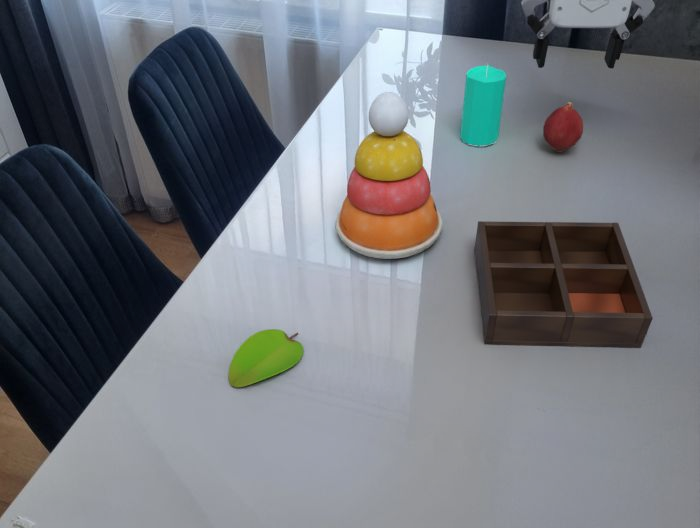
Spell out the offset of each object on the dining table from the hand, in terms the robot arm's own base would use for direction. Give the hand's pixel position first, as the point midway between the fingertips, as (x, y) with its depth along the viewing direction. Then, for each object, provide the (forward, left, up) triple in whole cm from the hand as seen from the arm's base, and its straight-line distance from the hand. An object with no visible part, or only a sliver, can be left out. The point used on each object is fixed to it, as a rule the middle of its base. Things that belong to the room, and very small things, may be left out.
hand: (574, 64), depth 96 cm
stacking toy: (+26, +22, -14) cm, 37 cm away
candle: (+12, -4, -14) cm, 18 cm away
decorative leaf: (+39, +46, -14) cm, 62 cm away
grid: (+6, +34, -14) cm, 37 cm away
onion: (0, 0, -14) cm, 14 cm away
